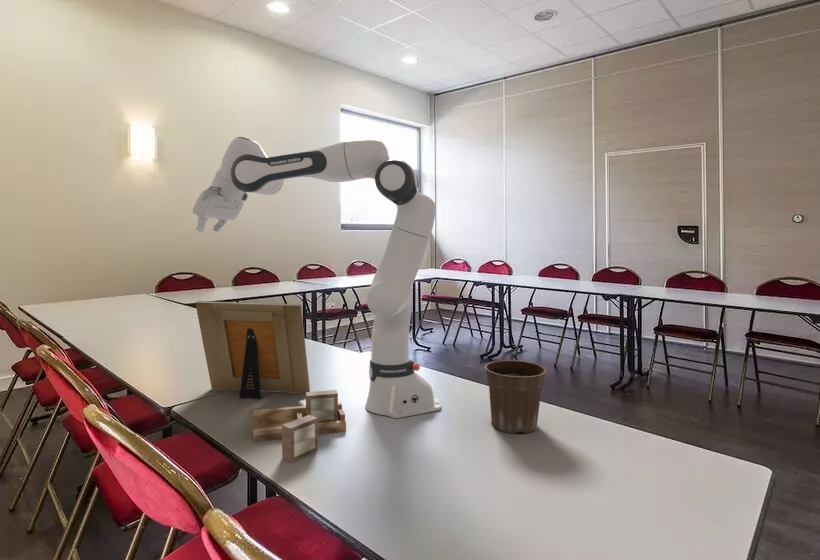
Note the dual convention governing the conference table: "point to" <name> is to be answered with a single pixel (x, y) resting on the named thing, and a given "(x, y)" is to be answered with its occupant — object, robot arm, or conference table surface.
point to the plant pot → (514, 394)
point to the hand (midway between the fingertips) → (208, 230)
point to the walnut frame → (299, 438)
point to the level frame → (322, 405)
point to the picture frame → (254, 347)
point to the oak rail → (271, 421)
